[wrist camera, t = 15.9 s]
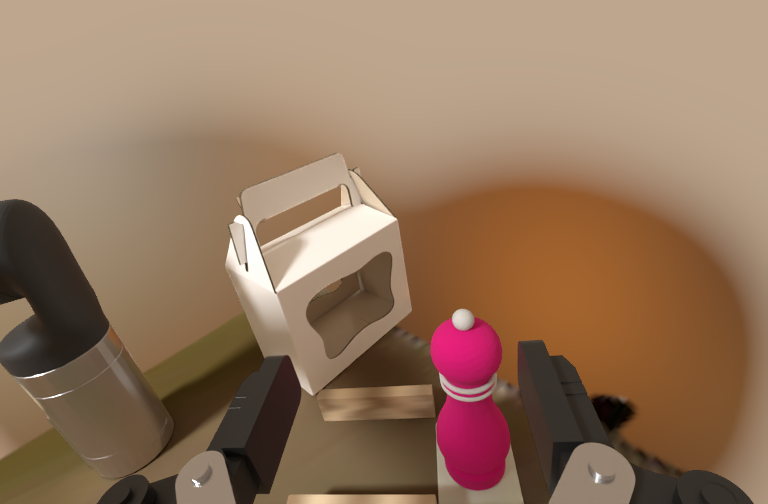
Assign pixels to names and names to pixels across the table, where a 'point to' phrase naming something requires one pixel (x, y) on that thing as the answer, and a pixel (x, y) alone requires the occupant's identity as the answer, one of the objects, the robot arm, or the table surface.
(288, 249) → the gable box
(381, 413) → the oak channel
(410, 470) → the table surface
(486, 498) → the sage pad
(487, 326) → the pepper mill
